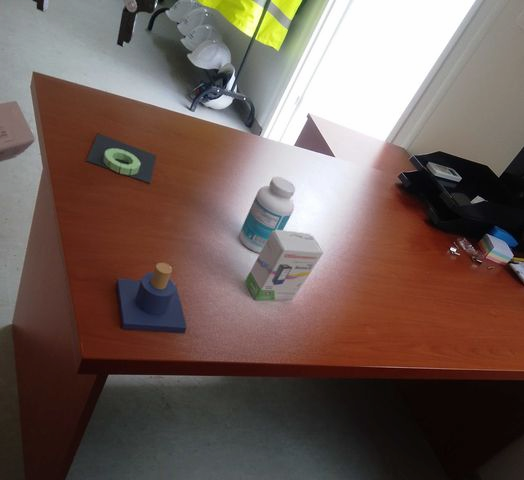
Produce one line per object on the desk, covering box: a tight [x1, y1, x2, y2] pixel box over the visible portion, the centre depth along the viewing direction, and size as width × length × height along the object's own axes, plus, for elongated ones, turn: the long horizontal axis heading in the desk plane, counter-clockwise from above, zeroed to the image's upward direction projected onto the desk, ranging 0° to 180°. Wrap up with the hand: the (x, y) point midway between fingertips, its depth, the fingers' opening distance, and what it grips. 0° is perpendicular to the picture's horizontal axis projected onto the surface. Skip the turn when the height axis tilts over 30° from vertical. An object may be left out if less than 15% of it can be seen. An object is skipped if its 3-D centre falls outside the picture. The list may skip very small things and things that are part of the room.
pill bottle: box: [239, 176, 296, 254], centre depth 87 cm, size 8×7×14 cm
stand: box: [116, 262, 187, 334], centre depth 65 cm, size 9×9×8 cm
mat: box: [85, 133, 157, 185], centre depth 91 cm, size 12×12×1 cm
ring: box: [103, 148, 140, 176], centre depth 88 cm, size 7×7×1 cm
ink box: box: [244, 229, 324, 301], centre depth 78 cm, size 9×5×12 cm, turn 118°
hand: (82, 27), depth 52 cm, fingers open, 8 cm apart
